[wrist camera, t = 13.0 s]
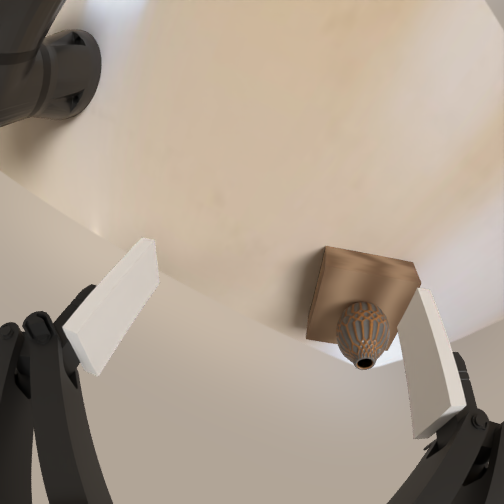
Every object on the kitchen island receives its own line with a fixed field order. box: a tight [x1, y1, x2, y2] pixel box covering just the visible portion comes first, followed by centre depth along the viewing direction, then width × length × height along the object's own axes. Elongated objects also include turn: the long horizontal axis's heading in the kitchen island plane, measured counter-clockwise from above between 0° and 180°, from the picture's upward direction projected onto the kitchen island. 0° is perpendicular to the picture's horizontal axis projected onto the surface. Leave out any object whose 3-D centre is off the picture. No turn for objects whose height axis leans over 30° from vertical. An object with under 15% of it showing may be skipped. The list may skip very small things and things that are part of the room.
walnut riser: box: [306, 246, 421, 351], centre depth 39 cm, size 13×13×5 cm
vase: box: [336, 302, 390, 370], centre depth 34 cm, size 7×7×9 cm
